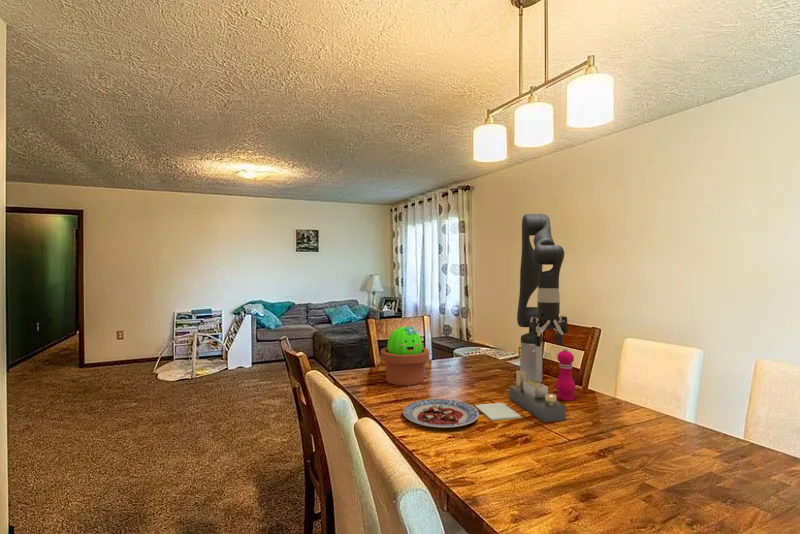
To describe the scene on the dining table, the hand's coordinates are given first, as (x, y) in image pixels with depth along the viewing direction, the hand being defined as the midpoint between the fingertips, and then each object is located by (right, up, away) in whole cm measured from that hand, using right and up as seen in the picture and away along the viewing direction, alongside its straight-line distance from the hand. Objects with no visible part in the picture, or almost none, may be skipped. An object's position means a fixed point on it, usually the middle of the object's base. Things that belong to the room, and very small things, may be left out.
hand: (548, 345), depth 142 cm
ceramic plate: (-39, -24, -6) cm, 46 cm away
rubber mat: (-19, -23, -2) cm, 30 cm away
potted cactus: (-51, -24, +38) cm, 68 cm away
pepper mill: (+12, -23, +13) cm, 29 cm away
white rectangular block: (-4, -18, +1) cm, 19 cm away
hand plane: (-4, -23, +1) cm, 24 cm away
